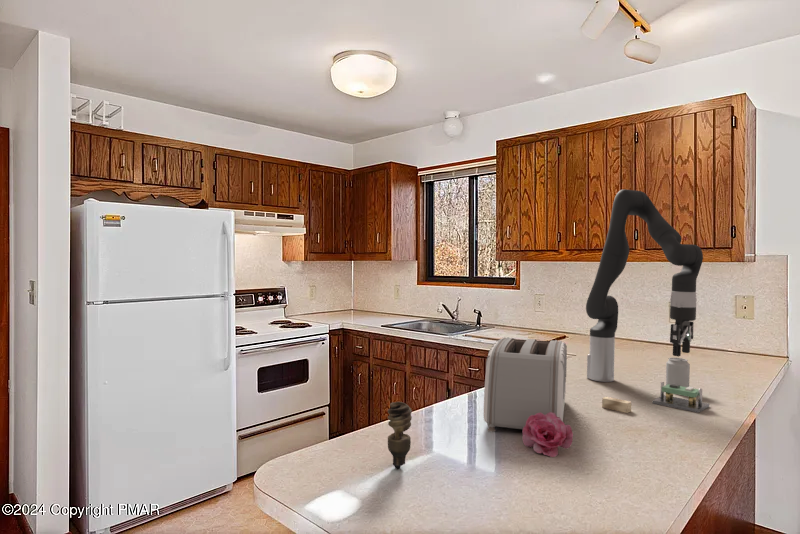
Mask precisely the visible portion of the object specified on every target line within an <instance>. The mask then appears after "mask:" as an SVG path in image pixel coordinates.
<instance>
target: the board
mask: <svg viewBox="0 0 800 534" xmlns="http://www.w3.org/2000/svg"><path fill="white" fill-rule="evenodd" d="M662 392H664V393H666V392H667V393H672V394H673V395H679V396H684V397H688V398H689V397H694V398H695V397H696V398H698V397H699V388H695V387H692V386H689V387H682V386H680V385H677V384H668V385H666V384H664V386H663V387H662Z"/></svg>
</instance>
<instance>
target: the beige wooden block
mask: <svg viewBox="0 0 800 534" xmlns="http://www.w3.org/2000/svg"><path fill="white" fill-rule="evenodd" d="M601 403H602V404H601V408H602V409H603V408H604V409H607V410H612V411H616V412H620V413H625V414H628V413H631V411H632V401H630V400H625V399H620V398H615V397H610V396H604V397H602V402H601Z"/></svg>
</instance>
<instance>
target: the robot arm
mask: <svg viewBox="0 0 800 534" xmlns="http://www.w3.org/2000/svg"><path fill="white" fill-rule="evenodd" d="M610 215H611V216H610V218H609V219H610V221H609V227H608V231H607V233H606V238H605V243H604V245H603V250H602V252H601V257H600V261H599V265H598V269H597V272H596V276H595V278H594V281H593V285H592V287H591V289H590V292H589V295H588V297H587V300H586V304H585V311H586V314H587V316H588V317H589V318H590V319H591V320H597V322H596V324H595V325H593V326H592V327H591V328H589V329H590V330H589V353H588V354H587V356H586V357H587V358H586V361H587V362H586V379H590V380H592V381H594V382H595V381H596V382H601V383H603V382H605V383H608V382H609V383H610V382H614V381H615V340H616V339H615V337H616V332H617V329H618V321H619V303H618V301H617V299H616V298H615V296H612V295H609V291H610V288H611V287H612V285H613V284H614V283H615V282H616V280H617V279H618V278H619V277H620V275H621V274H622V273H623V271H624V270H625V268H626V265H627V262H628V258H629V254H630V245H629V240H628V238H627V235H626V225H627V221H628V217H629V216H637V217H638V218H641V219H642V220H643V221H644V222H645V223H646V225H647V231H648V234H649V236H650V237H651V238H652V239H653V240H654V241H655V243H656V244H658V245H659V246H660V247H661V250H662V252H663V254H664V256H665V258H666V259H667V261H668V262H669V263H670V264H672V265H674V266H679V267H680V266H681V267H682V268H681V271H680V272H677V273H674V274H672V277H671V294H670V300H669V301H670V302H669V305H670V306H669V318H670V320H674V321H675V323H671V325H670V331H669V332H670V334H669V335H670V336H669V343H670V344H672V356H673V357H677V358H680V357H681V354H682V353H683V354H689V353H690V352H691V342H692V340H693V339H694V324H695V323H694V321H695V320H696V319H697V301H698V300H697V278H698V276H699V273H700V271H701V267H702V264H703V260H704V254H703V251H702V248H701V247H700V246H699V245H697V244H694V243H692V244H685V243H683V244H682V240H683V239H682V235H681V234H680V233H679V232H678V231H677V230H676V228H674V227H673V226H672V225H671V224H670V223H669V222H668V221H667V220H666V219H665V218H664V216H662V214H661V213H660V212H659V210H658V208H656V206H655V204H654V203H653V201H652V200H651V199H650V197H649V196H648V195H647V194H646V193H645V192H644V191H641V190H634V189H633V190H632V189H625V188H624V189H620V190H619V191H618V192H617V193H616V195H615V197H614V200H613V203H612V208H611V214H610Z"/></svg>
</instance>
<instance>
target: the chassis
mask: <svg viewBox="0 0 800 534" xmlns="http://www.w3.org/2000/svg"><path fill="white" fill-rule="evenodd" d="M663 386H665V382H664V381H660V396H659V397H657V398H654V399H653V400H652V405H659V406H664V407H669V408H673V409H674V408H675V409H679V410H683V411H689V412H693V413H698V414H699V413H701V412H703V411H705V410H706V409H708V408H709V407H710V403H708V402H703V388H700V387H698V389H699V396H698V397H695V398H694V397H689V396H688V399H686V398H681V397H675V396H674V394H672V393H667V392H662V387H663ZM697 398H698V401H697Z"/></svg>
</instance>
